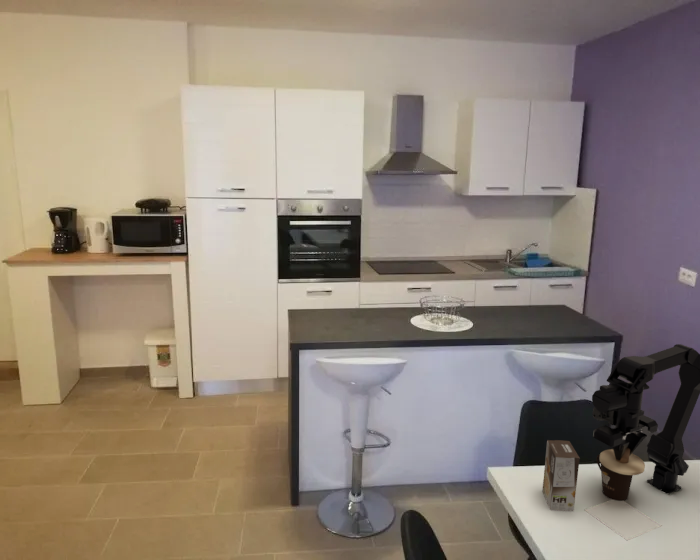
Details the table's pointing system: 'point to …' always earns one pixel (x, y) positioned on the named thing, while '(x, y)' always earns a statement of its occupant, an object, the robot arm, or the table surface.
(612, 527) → the mat
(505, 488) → the table surface
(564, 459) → the coffee box
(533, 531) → the table surface
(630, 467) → the lid
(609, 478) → the coffee mug
